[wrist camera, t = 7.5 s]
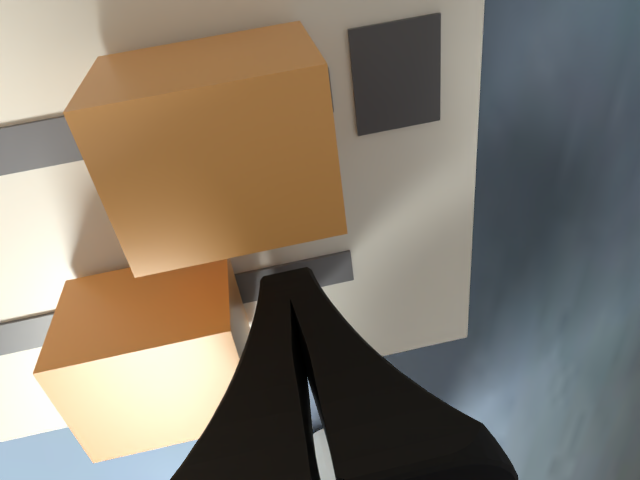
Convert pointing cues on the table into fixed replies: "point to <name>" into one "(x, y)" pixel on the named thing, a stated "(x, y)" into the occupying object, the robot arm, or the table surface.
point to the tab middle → (212, 146)
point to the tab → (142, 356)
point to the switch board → (320, 255)
